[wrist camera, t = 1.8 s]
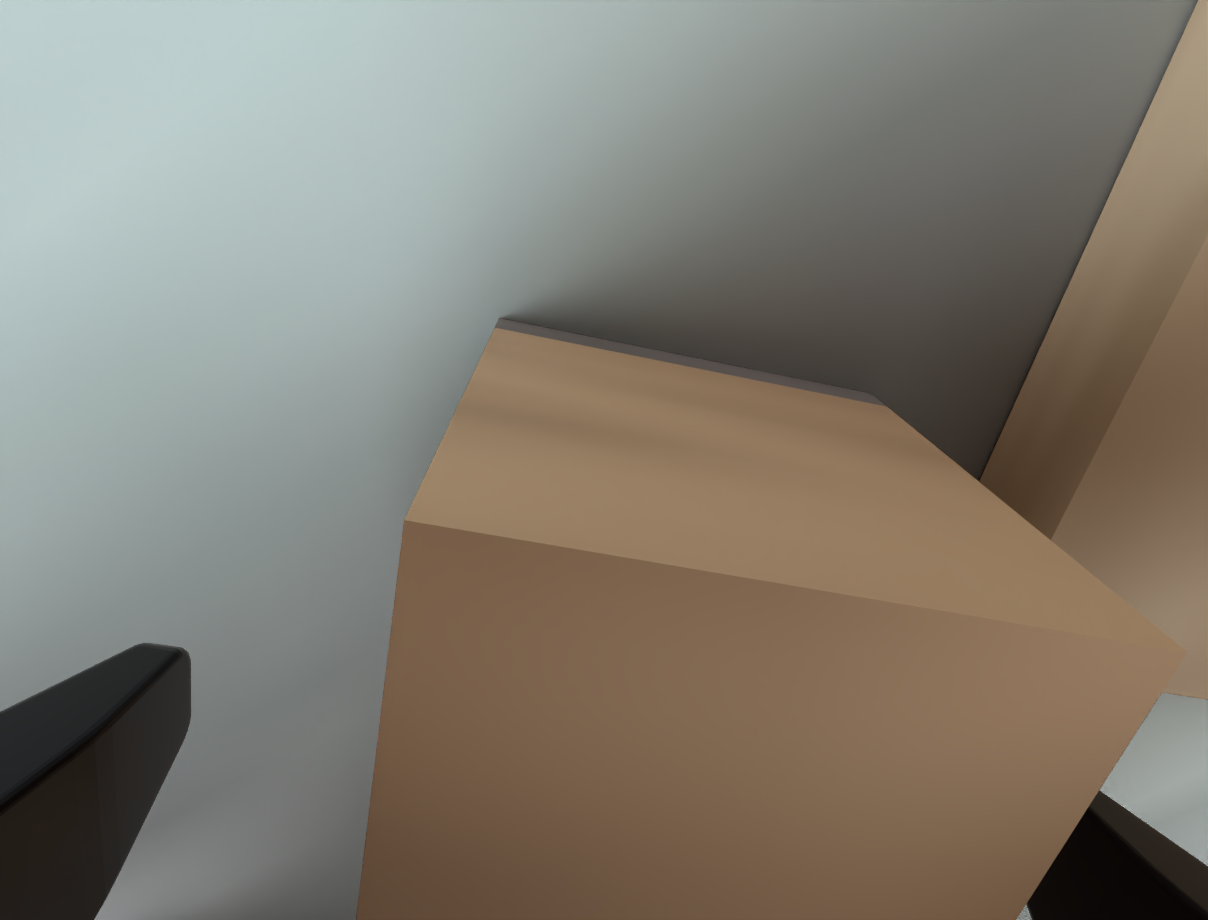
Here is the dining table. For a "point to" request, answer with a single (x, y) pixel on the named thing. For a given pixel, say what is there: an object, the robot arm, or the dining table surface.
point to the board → (1132, 382)
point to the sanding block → (728, 659)
